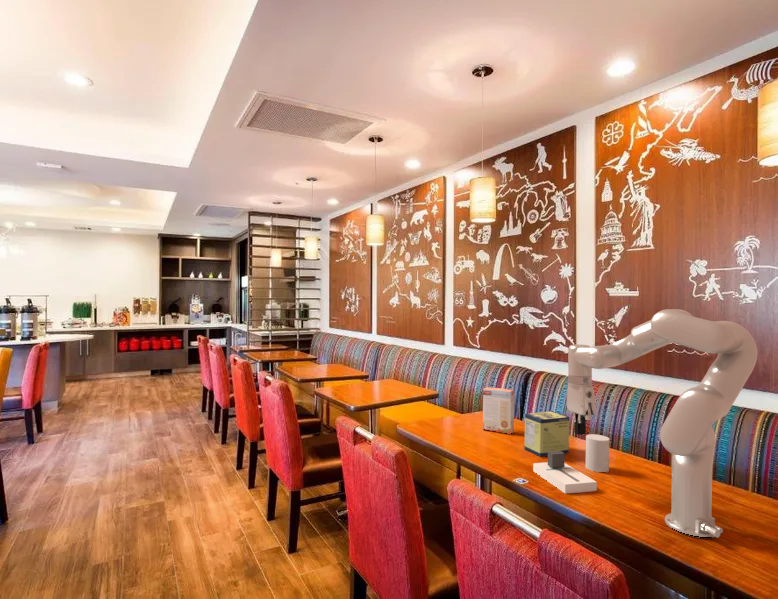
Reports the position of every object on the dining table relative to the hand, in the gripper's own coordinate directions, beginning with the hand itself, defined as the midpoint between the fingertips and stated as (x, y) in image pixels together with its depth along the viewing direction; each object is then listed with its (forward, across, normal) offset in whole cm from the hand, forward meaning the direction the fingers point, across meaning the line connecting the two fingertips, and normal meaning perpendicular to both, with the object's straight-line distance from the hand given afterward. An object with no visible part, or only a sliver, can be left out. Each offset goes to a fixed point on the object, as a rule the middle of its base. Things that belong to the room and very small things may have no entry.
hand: (580, 433), depth 155 cm
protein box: (+18, +36, -10) cm, 42 cm away
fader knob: (+15, +11, +2) cm, 19 cm away
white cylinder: (+19, +14, -18) cm, 30 cm away
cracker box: (+18, +68, -3) cm, 70 cm away
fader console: (+18, +6, +2) cm, 20 cm away
